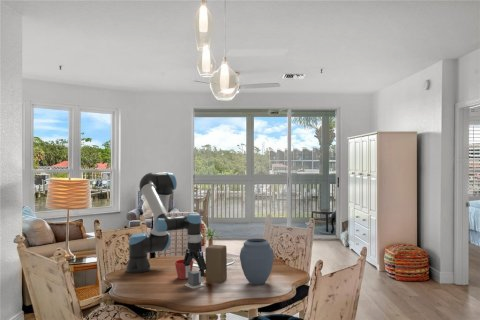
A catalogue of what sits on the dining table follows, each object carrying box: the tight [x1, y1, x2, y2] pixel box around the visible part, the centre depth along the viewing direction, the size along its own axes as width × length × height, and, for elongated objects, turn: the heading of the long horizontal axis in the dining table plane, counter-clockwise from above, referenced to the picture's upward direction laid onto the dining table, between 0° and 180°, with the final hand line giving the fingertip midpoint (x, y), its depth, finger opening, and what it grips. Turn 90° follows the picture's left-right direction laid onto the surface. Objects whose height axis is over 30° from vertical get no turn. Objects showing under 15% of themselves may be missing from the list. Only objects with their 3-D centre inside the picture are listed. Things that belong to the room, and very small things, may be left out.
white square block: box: [184, 282, 206, 289], centre depth 234 cm, size 8×8×7 cm
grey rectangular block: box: [187, 270, 202, 286], centre depth 234 cm, size 5×5×7 cm
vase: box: [239, 238, 275, 286], centre depth 237 cm, size 20×20×24 cm
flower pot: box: [174, 258, 194, 280], centre depth 252 cm, size 11×11×10 cm
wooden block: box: [204, 244, 228, 284], centre depth 244 cm, size 10×10×20 cm
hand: (194, 279), depth 234 cm, fingers open, 13 cm apart
